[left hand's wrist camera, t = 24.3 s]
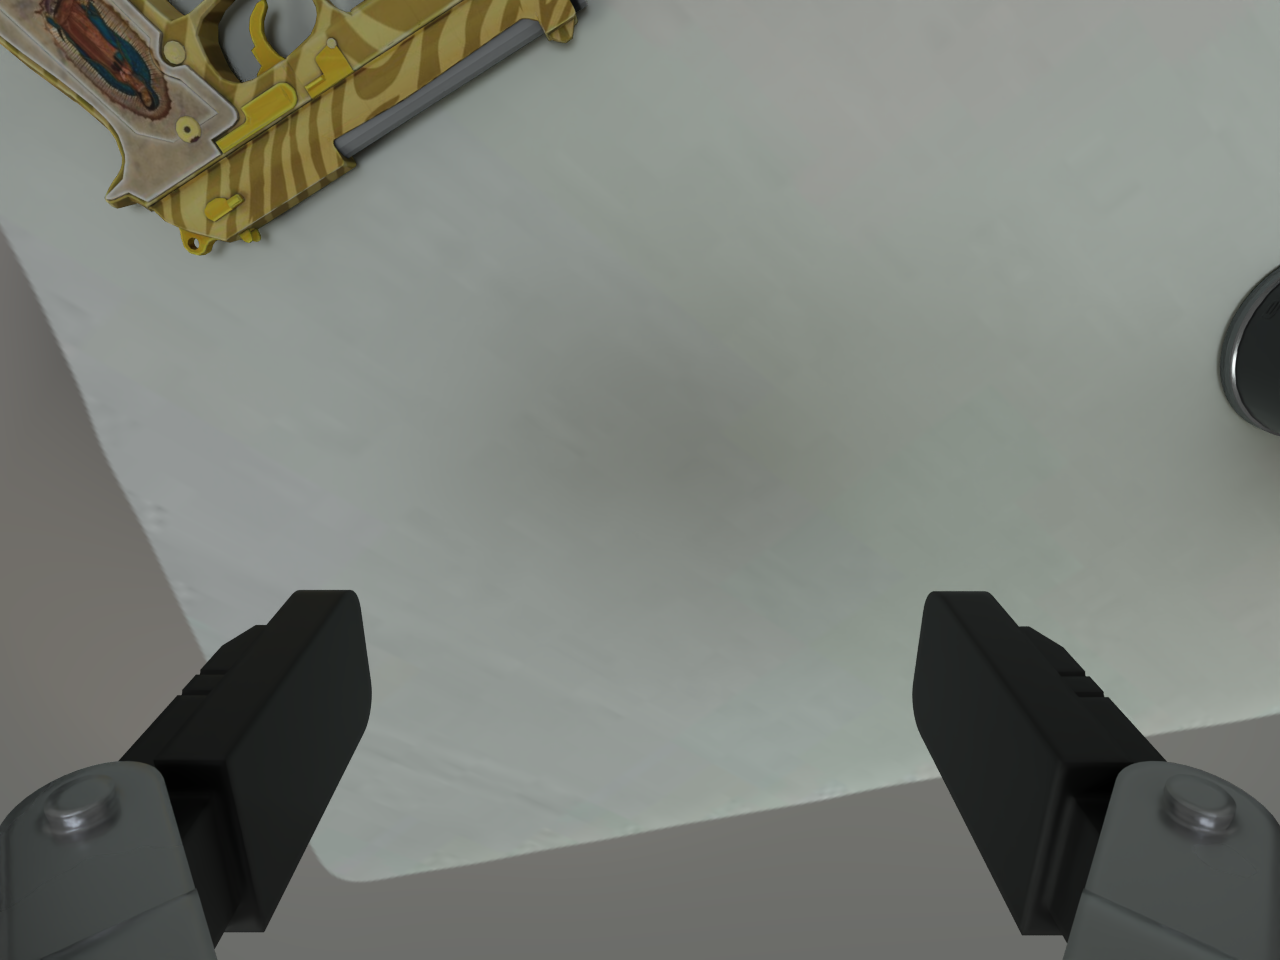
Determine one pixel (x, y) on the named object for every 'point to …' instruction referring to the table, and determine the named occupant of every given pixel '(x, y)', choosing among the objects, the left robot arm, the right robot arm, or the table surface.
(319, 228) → the table surface
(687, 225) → the table surface
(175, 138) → the handgun
